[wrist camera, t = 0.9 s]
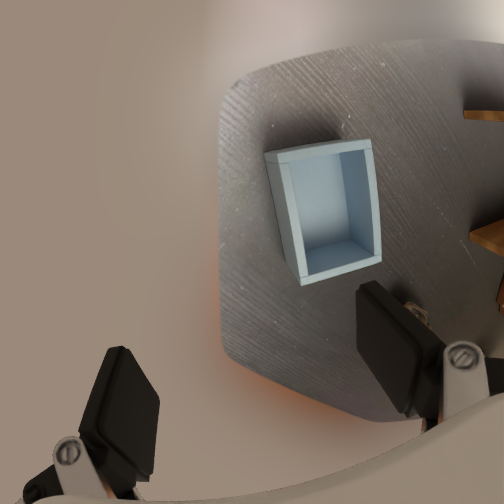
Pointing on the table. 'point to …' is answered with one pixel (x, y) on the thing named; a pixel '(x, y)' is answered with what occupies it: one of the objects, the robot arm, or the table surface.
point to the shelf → (500, 232)
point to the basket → (326, 207)
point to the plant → (501, 298)
